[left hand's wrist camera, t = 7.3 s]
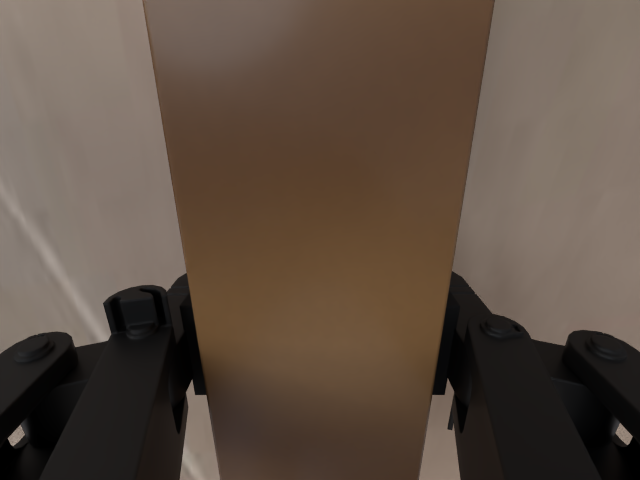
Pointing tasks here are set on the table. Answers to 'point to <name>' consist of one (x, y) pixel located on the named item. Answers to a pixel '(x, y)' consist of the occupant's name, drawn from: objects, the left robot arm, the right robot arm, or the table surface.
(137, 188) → the table surface
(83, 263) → the table surface
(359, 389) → the brown wooden bar
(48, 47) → the table surface
